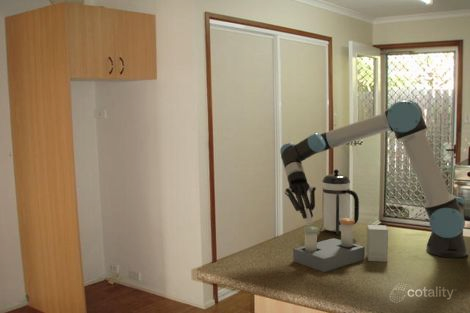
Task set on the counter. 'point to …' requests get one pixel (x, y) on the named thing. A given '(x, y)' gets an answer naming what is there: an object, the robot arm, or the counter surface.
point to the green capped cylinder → (310, 239)
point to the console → (329, 255)
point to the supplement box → (377, 243)
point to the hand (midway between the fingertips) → (310, 224)
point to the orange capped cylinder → (347, 232)
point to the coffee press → (337, 201)
